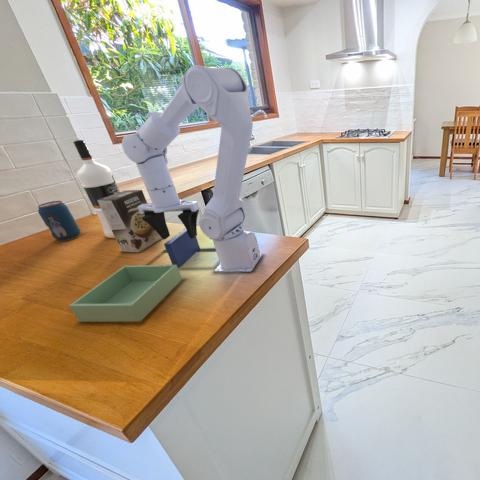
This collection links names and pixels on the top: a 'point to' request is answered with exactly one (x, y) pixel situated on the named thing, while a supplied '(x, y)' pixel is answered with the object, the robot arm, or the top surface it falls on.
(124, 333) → the top surface
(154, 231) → the coffee box
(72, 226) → the soda can
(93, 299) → the bin
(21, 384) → the top surface
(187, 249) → the blue flat block
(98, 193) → the vodka
